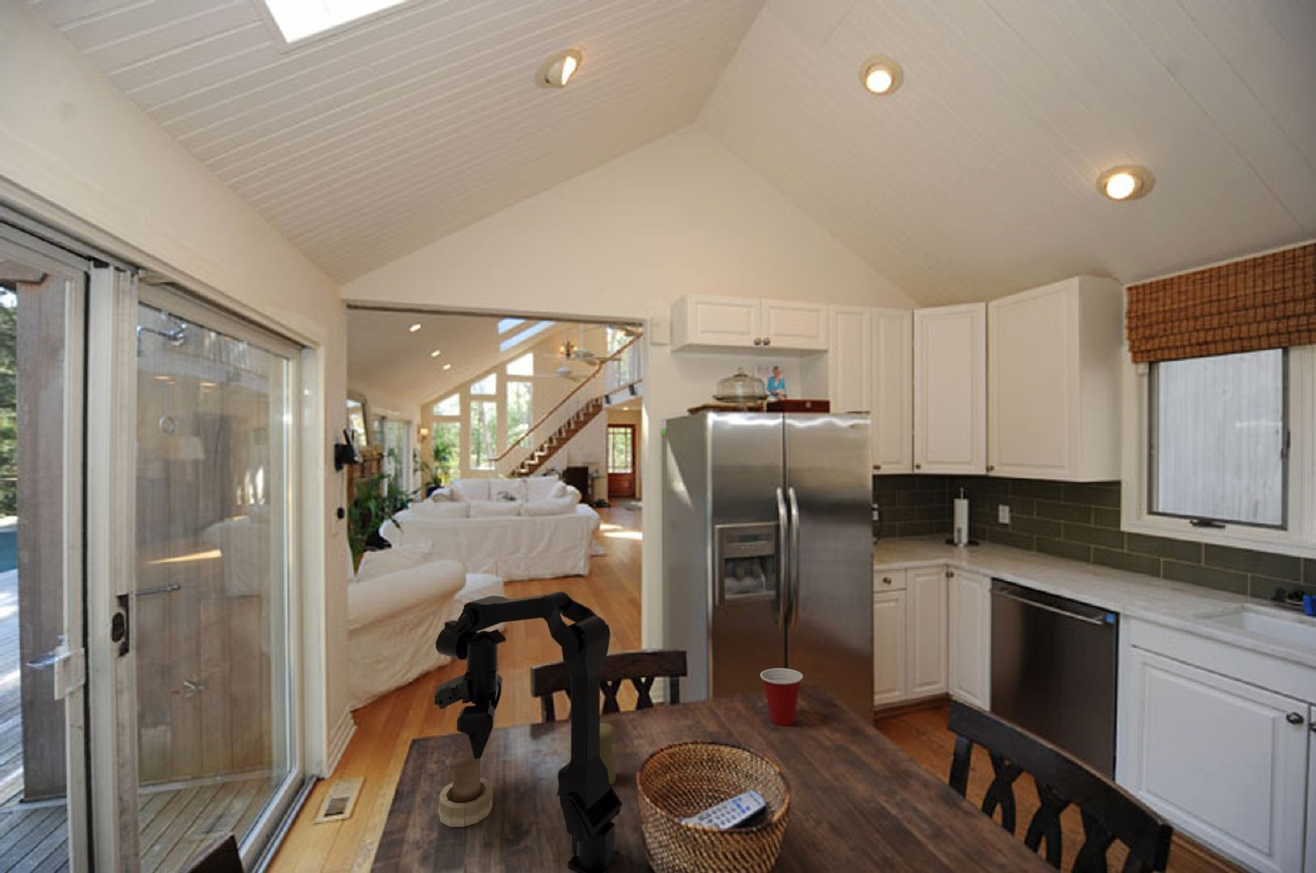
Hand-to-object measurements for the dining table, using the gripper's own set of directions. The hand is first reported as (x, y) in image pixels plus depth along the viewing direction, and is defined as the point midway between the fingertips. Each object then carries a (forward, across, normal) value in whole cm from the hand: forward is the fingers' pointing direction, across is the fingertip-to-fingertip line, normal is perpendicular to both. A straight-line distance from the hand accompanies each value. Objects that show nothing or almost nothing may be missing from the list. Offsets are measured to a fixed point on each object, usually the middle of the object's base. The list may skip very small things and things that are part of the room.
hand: (481, 745), depth 106 cm
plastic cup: (+12, -24, +72) cm, 76 cm away
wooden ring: (+12, 0, -3) cm, 12 cm away
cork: (+12, -5, +24) cm, 27 cm away
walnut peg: (+12, 0, -3) cm, 12 cm away
